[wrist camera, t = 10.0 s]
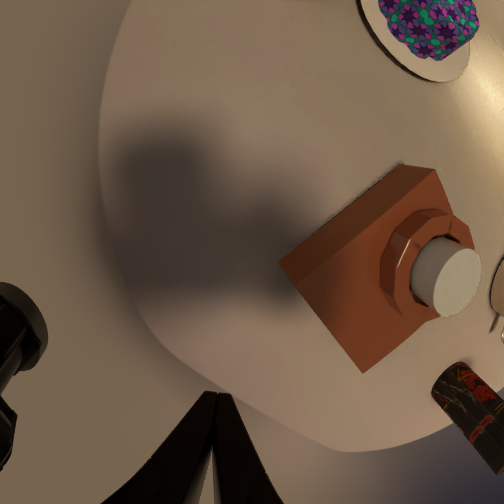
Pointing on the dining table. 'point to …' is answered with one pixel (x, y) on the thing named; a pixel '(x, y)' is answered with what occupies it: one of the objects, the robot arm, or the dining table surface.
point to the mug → (498, 293)
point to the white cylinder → (445, 275)
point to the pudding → (425, 34)
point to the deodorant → (473, 411)
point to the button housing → (375, 263)
